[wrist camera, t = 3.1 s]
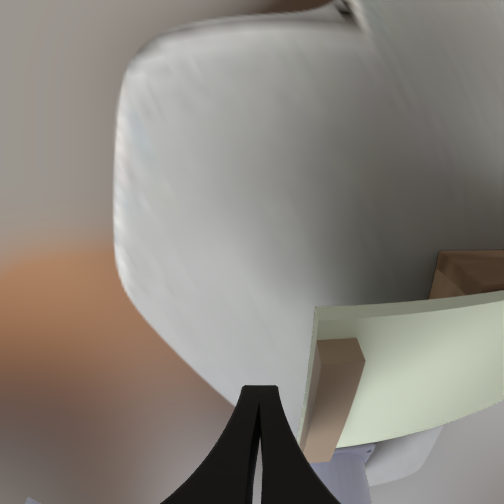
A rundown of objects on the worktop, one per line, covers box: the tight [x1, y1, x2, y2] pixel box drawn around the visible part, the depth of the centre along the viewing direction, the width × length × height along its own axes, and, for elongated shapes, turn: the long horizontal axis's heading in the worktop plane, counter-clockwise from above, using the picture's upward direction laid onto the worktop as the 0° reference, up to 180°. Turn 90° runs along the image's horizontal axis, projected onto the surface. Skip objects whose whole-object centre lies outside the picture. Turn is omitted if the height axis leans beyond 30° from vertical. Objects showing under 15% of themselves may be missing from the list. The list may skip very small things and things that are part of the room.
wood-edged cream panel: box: [297, 290, 504, 463], centre depth 9 cm, size 9×16×2 cm, turn 92°
